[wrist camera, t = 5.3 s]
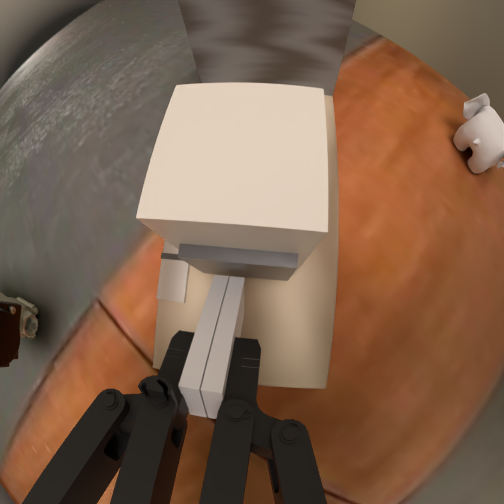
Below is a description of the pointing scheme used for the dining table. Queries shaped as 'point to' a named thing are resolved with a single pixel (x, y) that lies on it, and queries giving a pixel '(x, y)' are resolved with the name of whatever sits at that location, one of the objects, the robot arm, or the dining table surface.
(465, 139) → the elephant figurine
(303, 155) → the block
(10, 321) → the pneumatic valve
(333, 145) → the board
